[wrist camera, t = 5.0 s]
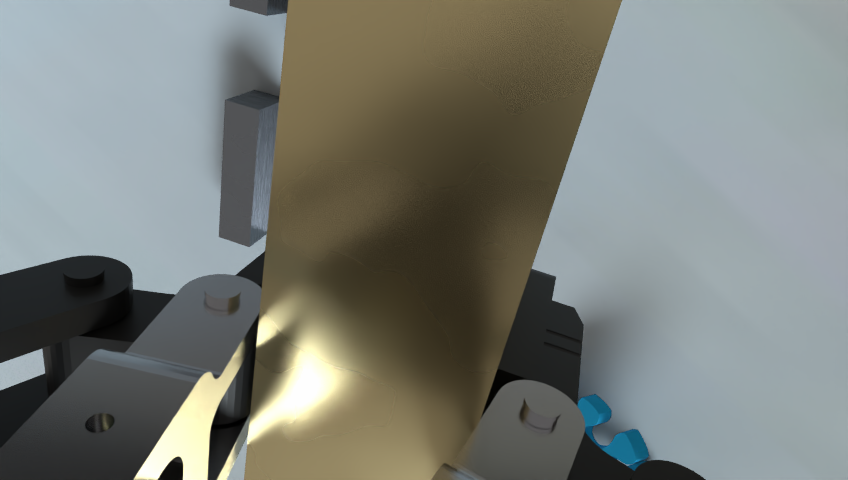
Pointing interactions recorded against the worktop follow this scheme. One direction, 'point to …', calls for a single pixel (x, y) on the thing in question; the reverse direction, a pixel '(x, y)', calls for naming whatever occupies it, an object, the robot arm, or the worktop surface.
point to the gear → (624, 444)
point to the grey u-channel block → (248, 152)
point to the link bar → (407, 221)
